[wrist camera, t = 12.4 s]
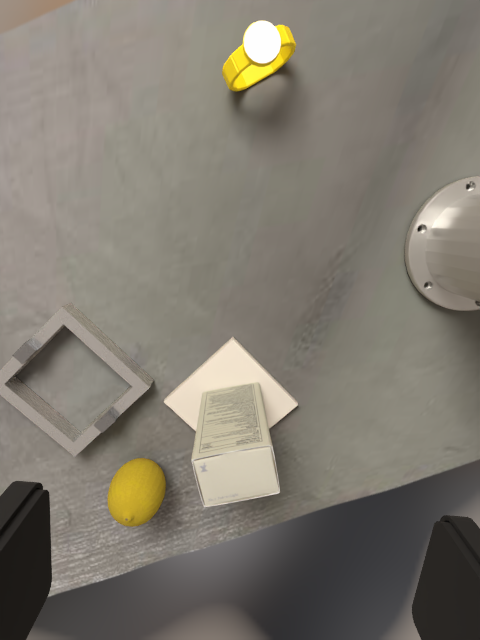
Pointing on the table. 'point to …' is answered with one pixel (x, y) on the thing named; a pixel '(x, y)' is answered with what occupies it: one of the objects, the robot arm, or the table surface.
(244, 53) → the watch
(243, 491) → the skincare box
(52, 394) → the table surface
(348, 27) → the table surface
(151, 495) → the lemon
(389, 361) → the table surface
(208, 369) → the pad
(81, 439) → the grey square frame
